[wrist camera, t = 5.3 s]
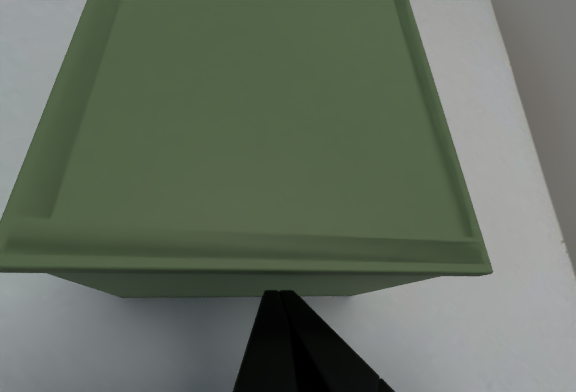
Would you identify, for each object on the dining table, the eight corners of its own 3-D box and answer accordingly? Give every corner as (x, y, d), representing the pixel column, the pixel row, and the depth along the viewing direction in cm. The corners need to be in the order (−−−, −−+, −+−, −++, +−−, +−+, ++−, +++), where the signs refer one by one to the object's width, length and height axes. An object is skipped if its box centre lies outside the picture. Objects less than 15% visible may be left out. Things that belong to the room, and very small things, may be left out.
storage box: (357, 299, 16) (494, 273, 8) (115, 302, 14) (-21, 267, 6) (331, 81, 23) (394, -49, 15) (165, 53, 20) (134, -124, 12)
